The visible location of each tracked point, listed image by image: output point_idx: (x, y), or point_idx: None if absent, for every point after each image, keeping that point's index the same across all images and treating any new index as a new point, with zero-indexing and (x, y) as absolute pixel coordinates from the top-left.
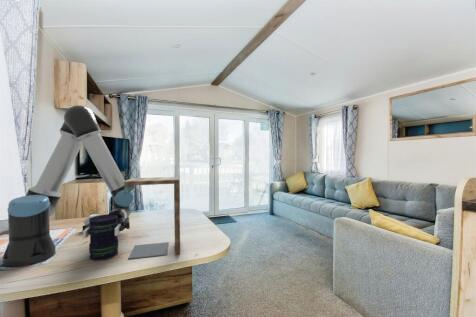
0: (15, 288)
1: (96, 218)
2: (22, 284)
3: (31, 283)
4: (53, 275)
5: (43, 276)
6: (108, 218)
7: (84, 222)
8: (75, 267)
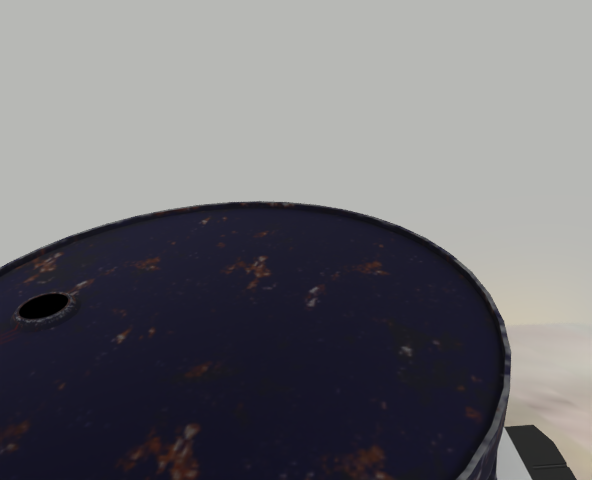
0: (566, 324)
1: (345, 298)
2: (574, 345)
3: (533, 347)
4: None
5: (545, 396)
6: (103, 279)
7: None
8: None
